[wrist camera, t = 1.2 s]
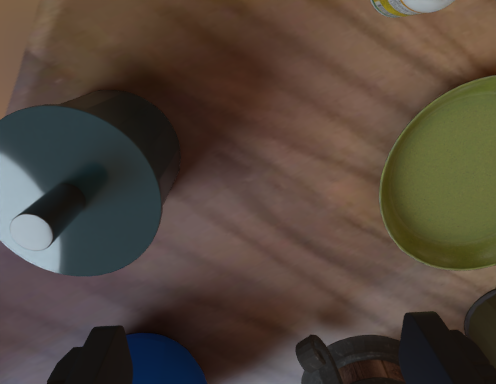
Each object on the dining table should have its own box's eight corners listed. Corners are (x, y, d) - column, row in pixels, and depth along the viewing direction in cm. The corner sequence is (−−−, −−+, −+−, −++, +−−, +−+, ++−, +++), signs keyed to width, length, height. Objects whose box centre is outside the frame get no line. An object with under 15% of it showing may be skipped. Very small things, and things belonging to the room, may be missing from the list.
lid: (-55, 186, 28) (-133, 224, 22) (57, 59, 24) (0, 65, 18) (88, 295, 32) (53, 352, 26) (201, 199, 28) (190, 240, 23)
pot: (32, 147, 38) (-51, 189, 27) (113, 61, 35) (55, 71, 24) (125, 228, 41) (84, 293, 31) (205, 157, 38) (191, 202, 28)
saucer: (505, 269, 44) (524, 286, 41) (343, 235, 42) (350, 250, 39) (608, 99, 36) (640, 104, 33) (415, 47, 34) (432, 48, 31)
